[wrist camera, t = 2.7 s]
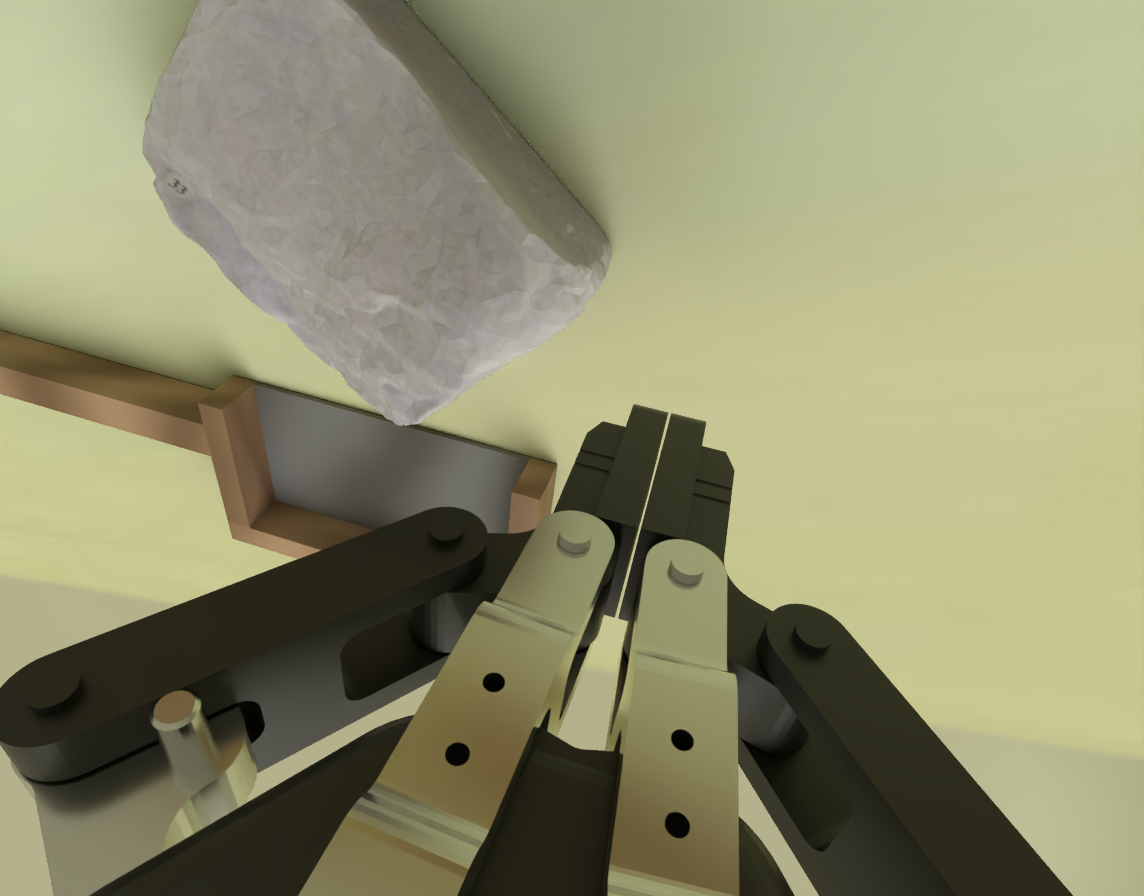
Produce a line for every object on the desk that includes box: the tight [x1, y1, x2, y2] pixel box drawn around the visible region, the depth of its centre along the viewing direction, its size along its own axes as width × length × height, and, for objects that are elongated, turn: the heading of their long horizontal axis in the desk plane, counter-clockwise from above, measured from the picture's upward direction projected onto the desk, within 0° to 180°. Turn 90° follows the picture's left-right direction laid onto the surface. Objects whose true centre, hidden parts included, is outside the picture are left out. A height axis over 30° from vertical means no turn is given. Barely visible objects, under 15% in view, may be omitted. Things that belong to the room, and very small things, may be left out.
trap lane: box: [0, 330, 557, 559], centre depth 21 cm, size 28×29×3 cm
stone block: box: [143, 0, 611, 426], centre depth 20 cm, size 12×5×10 cm
